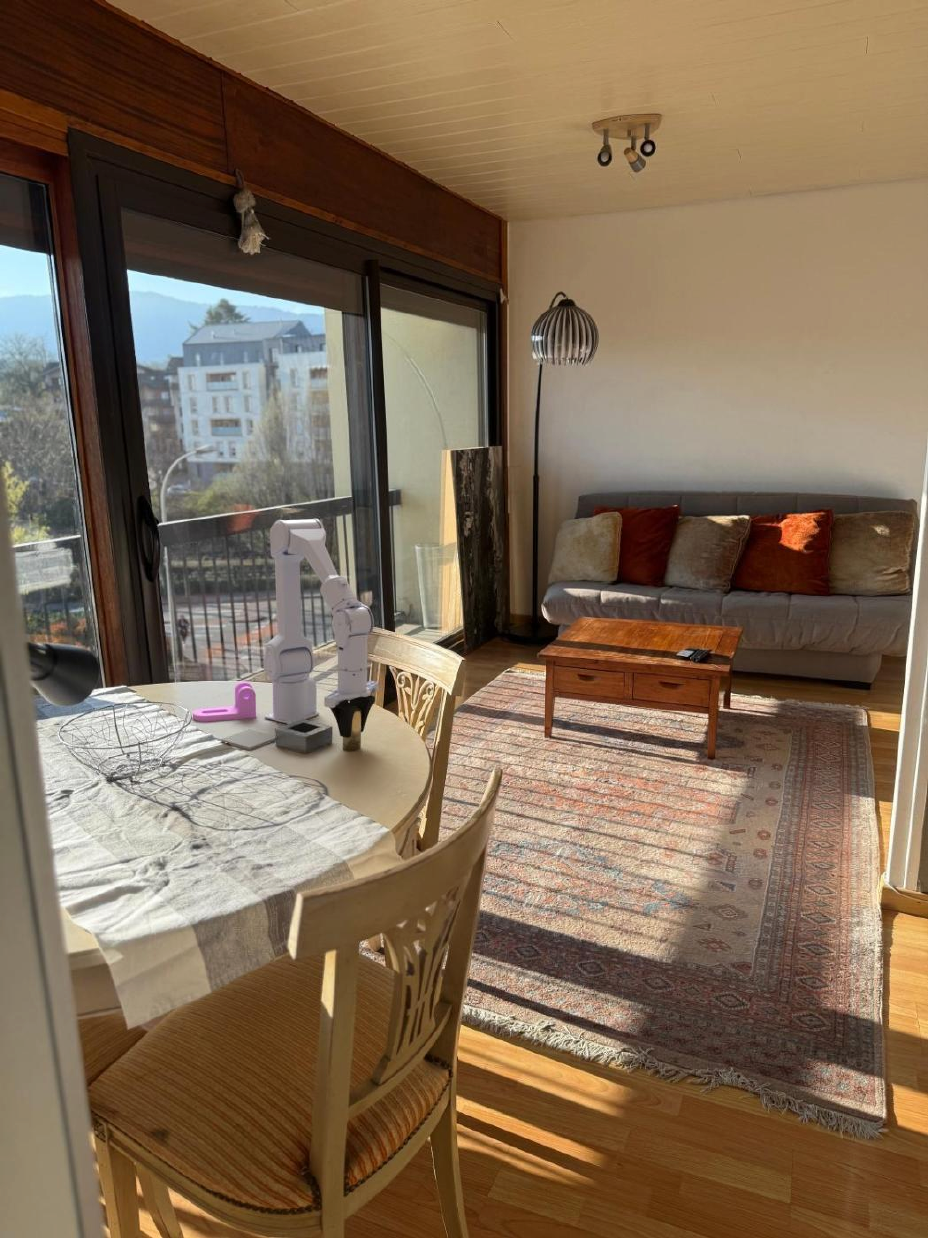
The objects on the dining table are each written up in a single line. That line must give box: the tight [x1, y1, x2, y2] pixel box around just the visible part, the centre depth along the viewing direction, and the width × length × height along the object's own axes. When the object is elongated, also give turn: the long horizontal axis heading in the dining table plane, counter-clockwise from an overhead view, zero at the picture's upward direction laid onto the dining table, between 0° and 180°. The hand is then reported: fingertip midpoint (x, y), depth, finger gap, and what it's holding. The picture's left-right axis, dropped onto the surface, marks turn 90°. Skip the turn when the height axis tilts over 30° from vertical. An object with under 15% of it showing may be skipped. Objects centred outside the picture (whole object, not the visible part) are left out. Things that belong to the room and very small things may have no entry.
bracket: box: [192, 680, 257, 723], centre depth 190 cm, size 13×6×7 cm, turn 112°
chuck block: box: [274, 719, 333, 755], centre depth 175 cm, size 8×8×4 cm
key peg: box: [342, 707, 362, 752], centre depth 173 cm, size 4×4×8 cm
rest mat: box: [220, 728, 275, 751], centre depth 176 cm, size 8×8×1 cm
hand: (351, 733), depth 173 cm, fingers closed on key peg, 4 cm apart
